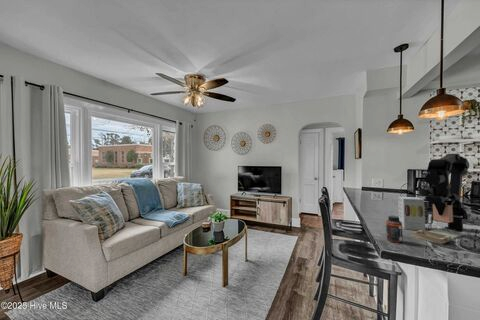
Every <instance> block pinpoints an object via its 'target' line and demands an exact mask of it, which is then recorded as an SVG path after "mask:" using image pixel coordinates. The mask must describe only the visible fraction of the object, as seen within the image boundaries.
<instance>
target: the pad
mask: <svg viewBox="0 0 480 320" xmlns="http://www.w3.org/2000/svg"><path fill="white" fill-rule="evenodd" d="M428 231H429V232H433V233H438V234H443V235H447V236H451V240H454V239H457V238H460V237H463V234H461V233H457V232H452V231H447V230H441V229H439V228H438V229H437V228H435V229H431V230H428Z"/></svg>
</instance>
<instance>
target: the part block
mask: <svg viewBox="0 0 480 320" xmlns="http://www.w3.org/2000/svg"><path fill="white" fill-rule="evenodd" d="M432 214H433V215H432V216H433V221H438V222H444V223H447V224H448V223H450V222H453V210H452V205H446V208H445V210H444V213H443V215H439V213H438V211H437V209H436V207H435V205H434V204H433V203H432Z"/></svg>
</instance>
